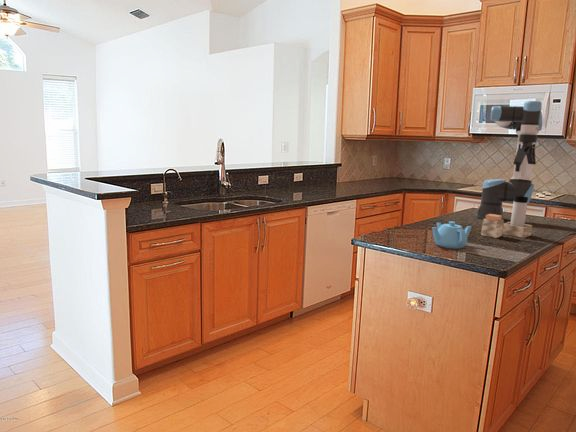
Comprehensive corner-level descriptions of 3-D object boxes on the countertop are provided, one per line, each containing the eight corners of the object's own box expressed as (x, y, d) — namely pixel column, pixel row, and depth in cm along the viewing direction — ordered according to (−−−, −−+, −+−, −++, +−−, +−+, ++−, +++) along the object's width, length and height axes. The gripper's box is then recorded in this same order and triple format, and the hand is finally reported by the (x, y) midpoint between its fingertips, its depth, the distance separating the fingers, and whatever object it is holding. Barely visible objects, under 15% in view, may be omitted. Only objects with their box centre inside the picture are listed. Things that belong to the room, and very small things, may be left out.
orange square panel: (485, 220, 228) (485, 215, 228) (489, 219, 232) (490, 213, 232) (496, 222, 224) (497, 216, 224) (501, 221, 228) (501, 215, 228)
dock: (480, 235, 230) (482, 219, 228) (497, 229, 245) (499, 214, 244) (515, 241, 218) (517, 225, 217) (530, 235, 234) (533, 219, 233)
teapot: (428, 246, 204) (430, 222, 202) (435, 239, 217) (437, 216, 215) (464, 251, 197) (467, 227, 195) (469, 244, 210) (472, 221, 208)
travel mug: (508, 234, 233) (514, 195, 229) (509, 232, 239) (514, 193, 235) (522, 236, 230) (528, 196, 226) (522, 234, 236) (528, 195, 232)
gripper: (526, 133, 213) (520, 179, 218) (546, 134, 230) (540, 177, 234) (509, 133, 219) (504, 178, 223) (530, 134, 235) (525, 175, 239)
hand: (522, 177), depth 228 cm, fingers open, 13 cm apart
